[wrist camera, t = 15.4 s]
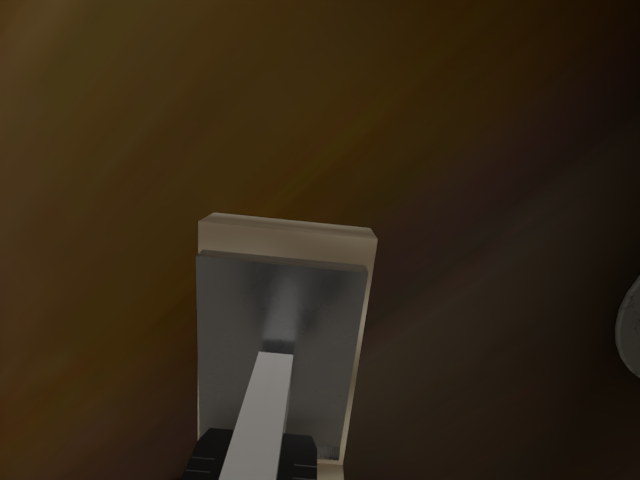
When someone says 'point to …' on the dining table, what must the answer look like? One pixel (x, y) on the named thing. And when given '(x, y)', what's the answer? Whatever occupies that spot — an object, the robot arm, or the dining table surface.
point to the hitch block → (298, 244)
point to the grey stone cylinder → (629, 328)
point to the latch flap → (278, 337)
